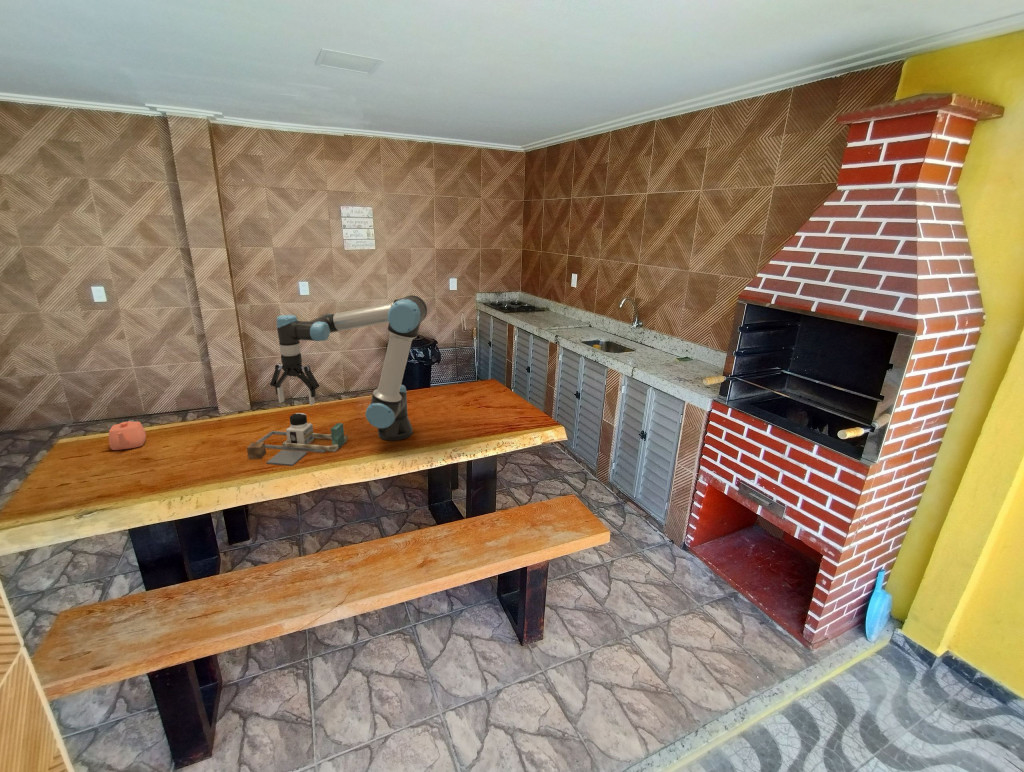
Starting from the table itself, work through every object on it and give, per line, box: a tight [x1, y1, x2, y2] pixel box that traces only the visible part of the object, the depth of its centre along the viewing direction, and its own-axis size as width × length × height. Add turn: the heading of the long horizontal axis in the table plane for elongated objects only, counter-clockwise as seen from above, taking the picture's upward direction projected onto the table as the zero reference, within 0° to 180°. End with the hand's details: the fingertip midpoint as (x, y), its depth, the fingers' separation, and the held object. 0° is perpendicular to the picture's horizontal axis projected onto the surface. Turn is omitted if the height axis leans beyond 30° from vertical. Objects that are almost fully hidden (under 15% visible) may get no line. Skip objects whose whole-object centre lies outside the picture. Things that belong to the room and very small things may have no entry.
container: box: [285, 412, 315, 445], centre depth 209 cm, size 8×8×13 cm
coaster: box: [266, 449, 308, 467], centre depth 197 cm, size 11×11×1 cm
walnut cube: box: [246, 441, 267, 460], centre depth 198 cm, size 5×5×5 cm
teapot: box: [108, 420, 147, 451], centre depth 203 cm, size 12×18×10 cm, turn 25°
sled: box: [281, 422, 349, 453], centre depth 208 cm, size 23×12×9 cm, turn 82°
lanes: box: [255, 430, 326, 454], centre depth 211 cm, size 32×14×1 cm, turn 82°
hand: (297, 403), depth 205 cm, fingers open, 13 cm apart
